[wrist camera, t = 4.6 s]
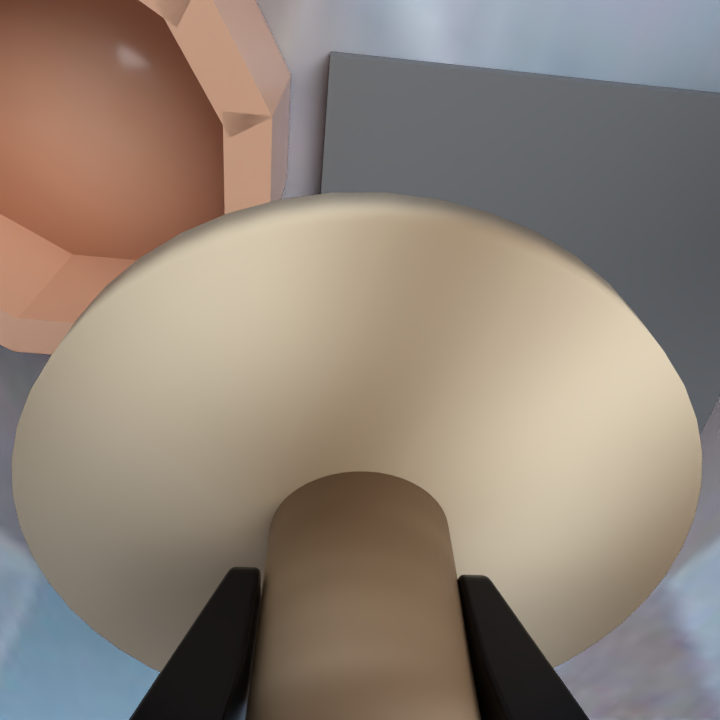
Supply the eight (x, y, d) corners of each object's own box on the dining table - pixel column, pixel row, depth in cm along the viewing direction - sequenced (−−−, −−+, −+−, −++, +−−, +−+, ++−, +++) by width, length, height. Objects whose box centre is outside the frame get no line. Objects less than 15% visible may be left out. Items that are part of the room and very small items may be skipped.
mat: (849, 107, 17) (863, 112, 17) (663, 482, 25) (669, 493, 25) (331, 51, 17) (330, 55, 16) (303, 457, 24) (302, 468, 24)
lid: (784, 216, 8) (1792, 870, 3) (580, 672, 14) (746, 1195, 8) (-41, 166, 8) (-1171, 842, 2) (95, 661, 14) (-96, 1211, 8)
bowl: (297, -96, 15) (277, -104, 11) (283, 290, 20) (266, 371, 17) (-156, -151, 14) (-337, -178, 11) (-44, 262, 20) (-137, 339, 16)
